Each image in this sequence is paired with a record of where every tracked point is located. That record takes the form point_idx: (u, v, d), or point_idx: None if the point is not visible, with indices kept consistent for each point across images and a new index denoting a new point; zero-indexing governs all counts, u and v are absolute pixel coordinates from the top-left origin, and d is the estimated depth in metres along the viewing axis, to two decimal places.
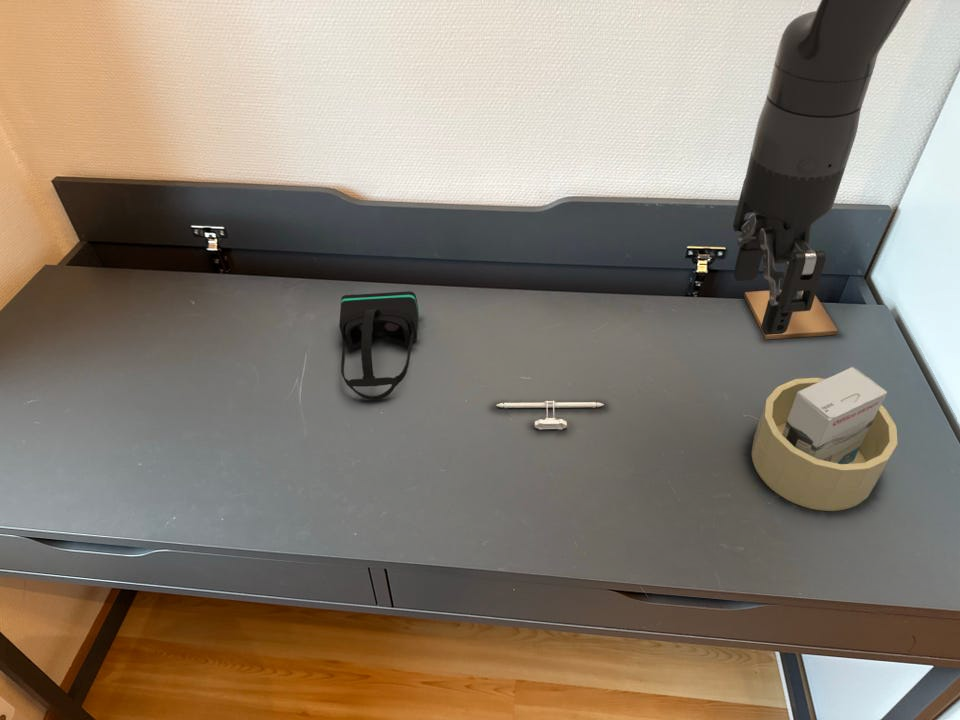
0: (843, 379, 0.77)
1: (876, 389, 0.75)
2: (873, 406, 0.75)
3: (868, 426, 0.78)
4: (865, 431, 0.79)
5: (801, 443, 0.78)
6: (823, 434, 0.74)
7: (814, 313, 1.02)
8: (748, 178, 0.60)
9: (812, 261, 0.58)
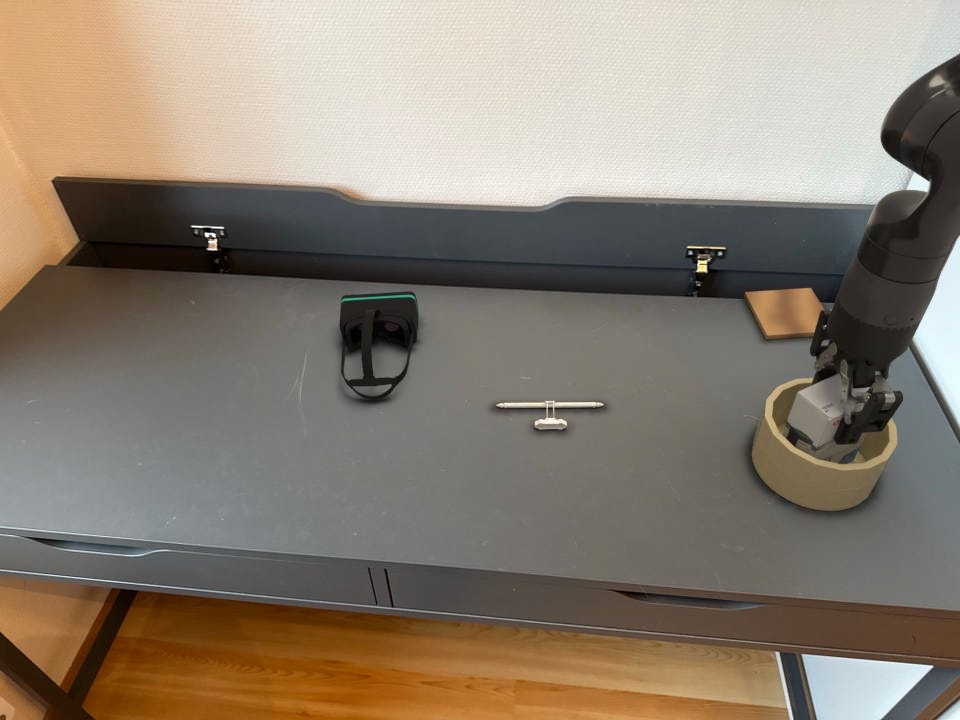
0: None
1: None
2: None
3: None
4: None
5: (801, 443, 0.78)
6: (823, 434, 0.74)
7: (814, 313, 1.02)
8: (834, 319, 0.68)
9: (891, 402, 0.67)
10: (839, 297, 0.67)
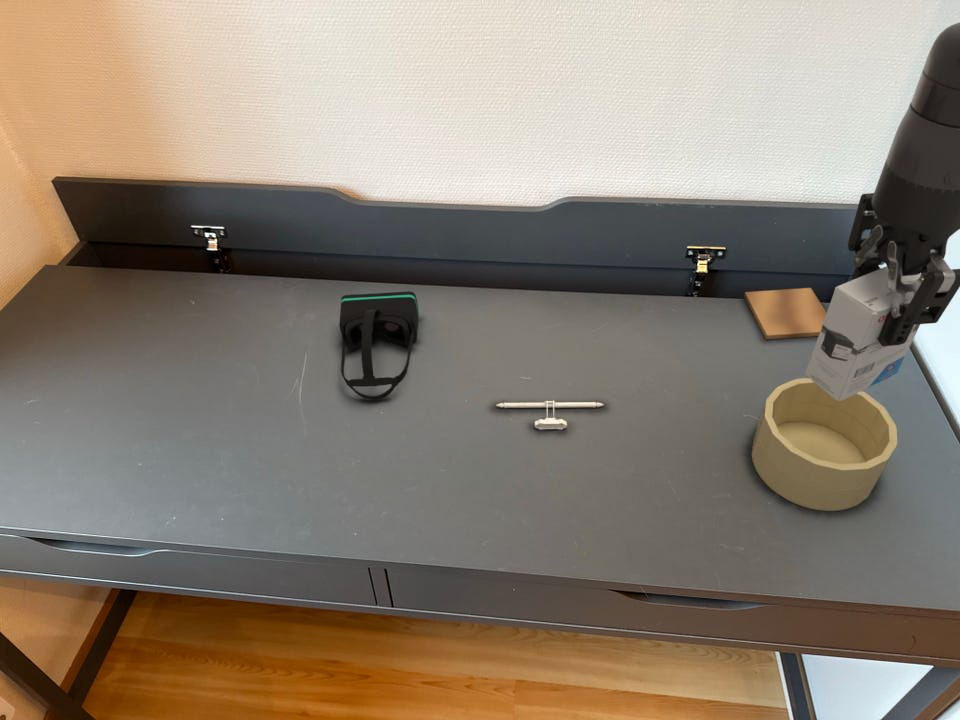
0: (887, 274, 0.67)
1: None
2: None
3: (915, 329, 0.69)
4: (912, 335, 0.69)
5: (839, 349, 0.68)
6: (866, 332, 0.65)
7: (814, 313, 1.02)
8: (882, 190, 0.59)
9: (950, 281, 0.57)
10: (888, 162, 0.58)
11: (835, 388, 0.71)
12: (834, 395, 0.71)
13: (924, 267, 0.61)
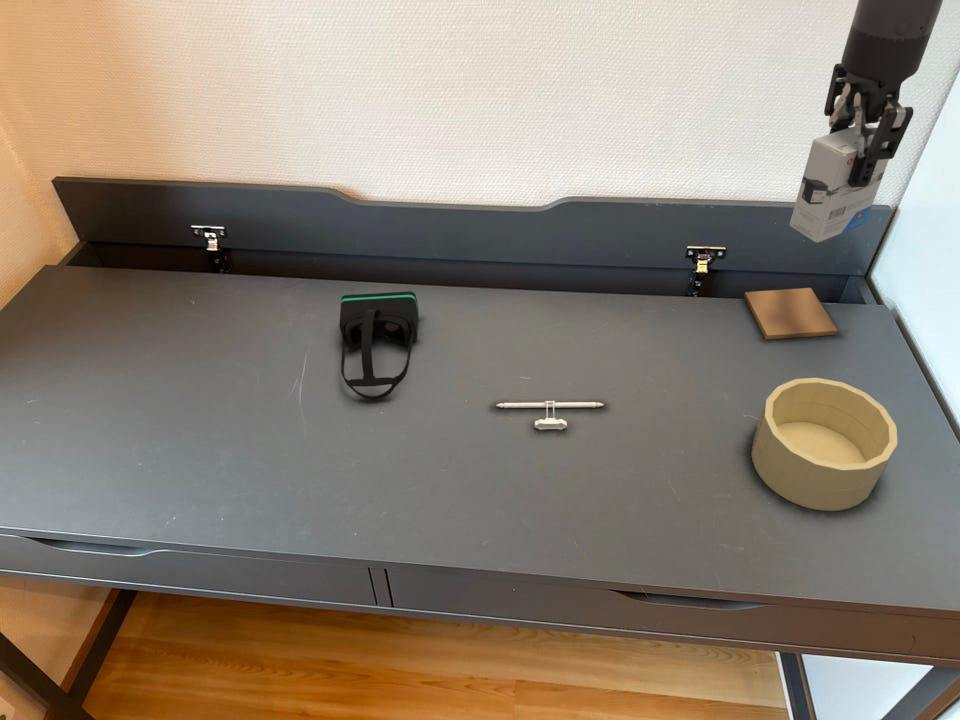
0: None
1: None
2: None
3: (879, 179, 0.84)
4: (876, 185, 0.84)
5: (816, 194, 0.83)
6: (838, 173, 0.79)
7: (814, 313, 1.02)
8: (849, 47, 0.74)
9: (902, 116, 0.72)
10: (853, 23, 0.73)
11: (813, 231, 0.85)
12: (813, 237, 0.86)
13: (883, 113, 0.76)
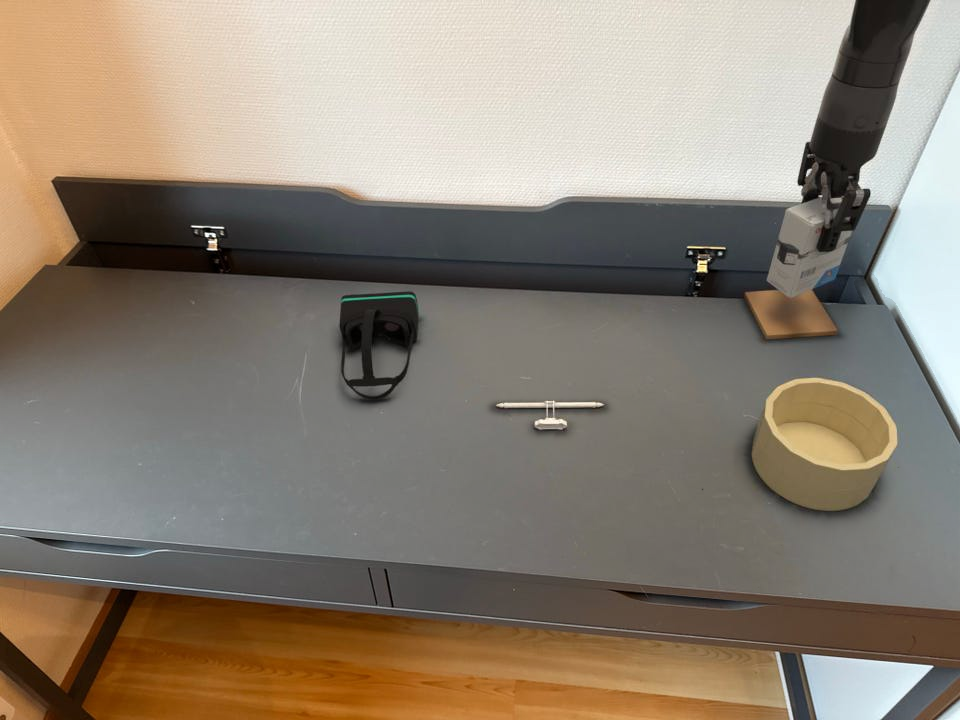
0: None
1: None
2: None
3: (845, 243, 0.94)
4: (843, 248, 0.94)
5: (789, 256, 0.93)
6: (807, 240, 0.90)
7: (814, 313, 1.02)
8: (815, 134, 0.84)
9: (861, 197, 0.82)
10: (819, 114, 0.83)
11: (787, 287, 0.96)
12: (787, 293, 0.96)
13: (846, 190, 0.86)
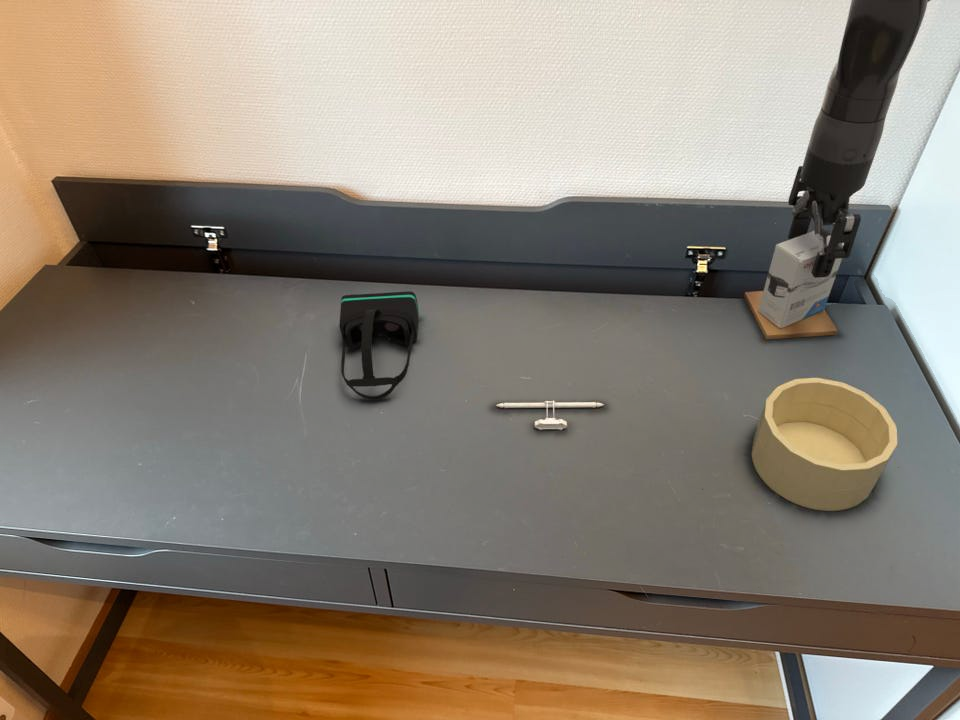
0: (813, 236, 0.96)
1: None
2: None
3: (833, 276, 0.98)
4: (831, 281, 0.98)
5: (779, 289, 0.97)
6: (796, 275, 0.94)
7: None
8: (806, 165, 0.87)
9: (851, 221, 0.85)
10: (809, 145, 0.86)
11: (777, 318, 0.99)
12: (777, 323, 1.00)
13: (837, 217, 0.88)
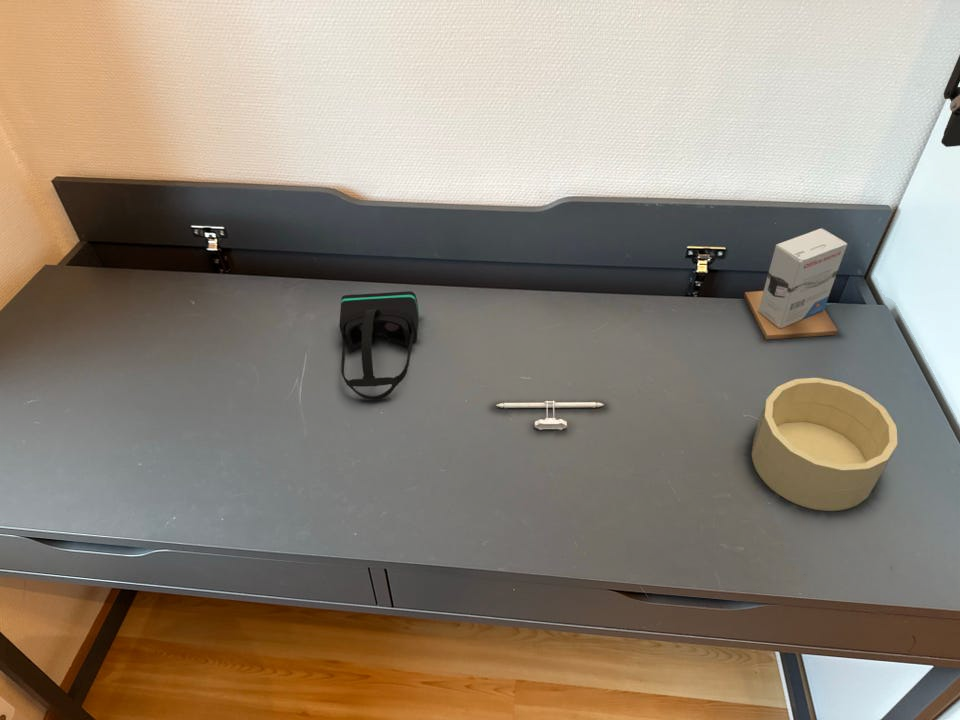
0: (813, 236, 0.96)
1: (838, 242, 0.94)
2: (836, 255, 0.95)
3: (833, 276, 0.98)
4: (831, 281, 0.98)
5: (779, 289, 0.97)
6: (796, 275, 0.94)
7: None
8: None
9: None
10: None
11: (777, 318, 0.99)
12: (777, 323, 1.00)
13: None
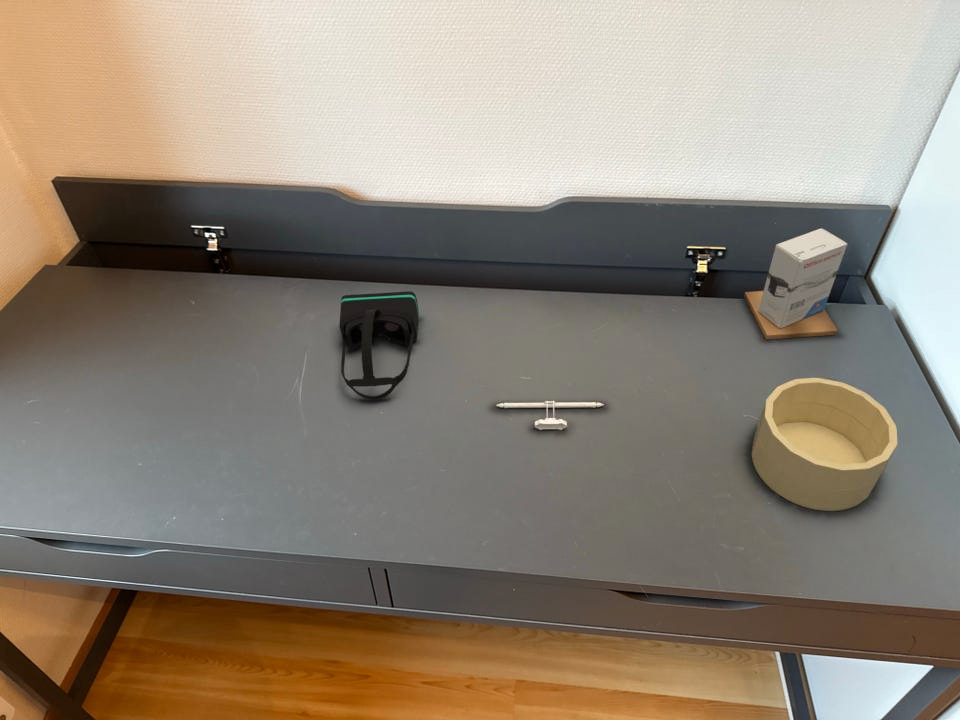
0: (813, 236, 0.96)
1: (838, 242, 0.94)
2: (836, 255, 0.95)
3: (833, 276, 0.98)
4: (831, 281, 0.98)
5: (779, 289, 0.97)
6: (796, 275, 0.94)
7: None
8: None
9: None
10: None
11: (777, 318, 0.99)
12: (777, 323, 1.00)
13: None
